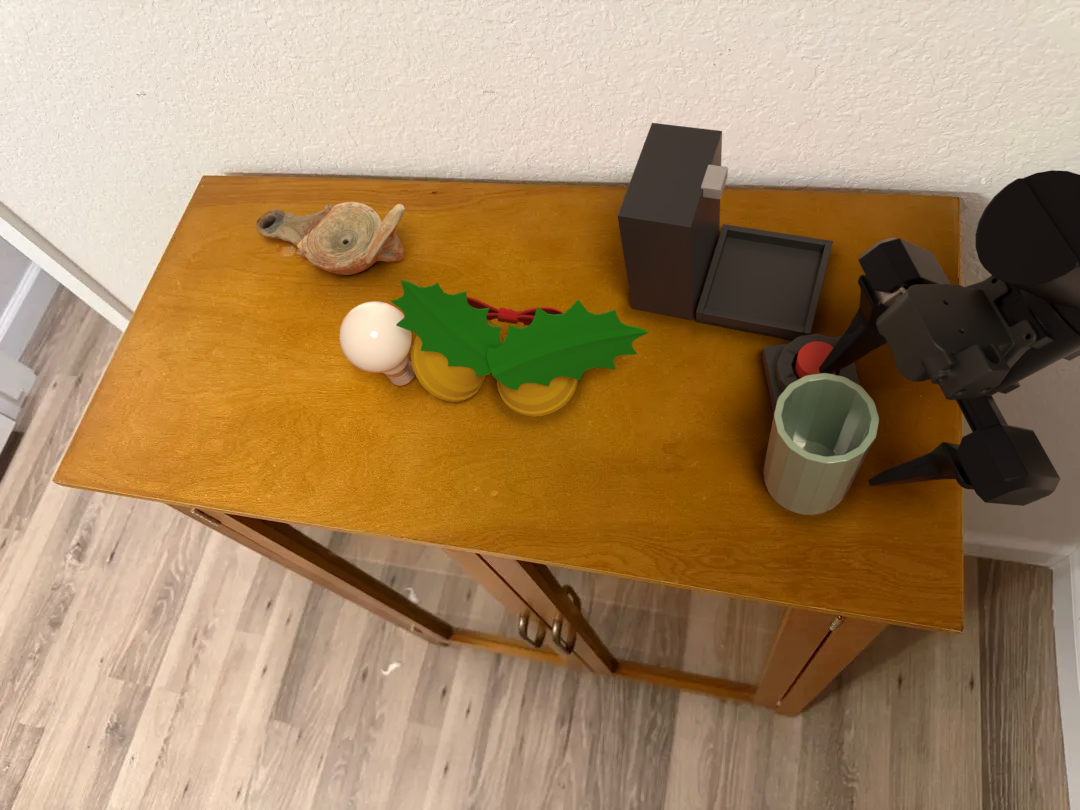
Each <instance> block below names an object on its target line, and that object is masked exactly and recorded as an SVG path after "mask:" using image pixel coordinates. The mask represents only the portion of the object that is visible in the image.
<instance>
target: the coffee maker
mask: <svg viewBox="0 0 1080 810" xmlns="http://www.w3.org/2000/svg"><path fill="white" fill-rule="evenodd" d="M722 141H723V131H722V130H719V129H718V130H717V129H708V128H700V127H691V126H683V125H675V124H666V123H657V122H651V124H650V127H649V130H648V132H647V135H646V138H645V140H644V143H643V146H642V148H641V152H640V154H639V156H638V159H637V162H636V164H635V167H634V170H633V173H632V176H631V178H630V181H629V182H628V183H629V184H628V186H627V189H626V191H625V194H624V197H623V199H622V203H621V204H620V208H619V210H618V213H617V222H618V228H619V235H620V240H621V248H622V254H623V260H624V267H625V272H626V279H627V285H628V292H629V299H630V305H631V309H632V310H637V311H644V312H649V313H653V314H659V315H664V316H669V317H673V318H679V319H683V320H684V319H685V320H688V321H689V320H690V321H694V319H695V322H696V323H701V324H705V325H711V326H715V327H720V328H725V329H731V330H736V331H741V332H746V333H752V334H755V335H756V334H757V335H761V336H766V337H771V338H777V339H782V340H787V341H793V340H794V339H796V338H797V337H798V336H805V335H811V333H812V329H813V324H814V320H815V316H816V313H817V309H818V305H819V300H820V296H821V292H822V288H823V283H824V280H825V276H826V271H827V268H828V265H829V260H830V255H831V253H832V252H831V251H832V246H833V243H834V241H833V240H829V239H823V238H816V237H809V236H803V235H796V234H791V233H785V232H777V231H772V230H771V231H770V230H764V229H758V228H753V227H752V228H750V227H745V226H739V225H732V224H725V223H723V224H722V226H721V229H720V224H721V223H720V221H721V200H722V197H723V192H724V189H725V186H726V183H727V181H728V176H729V175H728V174H729V173H728V172H729V168H728V166H722V154H723V153H722V151H723V149H722V148H723V146H722V145H723V142H722Z"/></svg>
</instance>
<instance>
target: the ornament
mask: <svg viewBox="0 0 1080 810" xmlns="http://www.w3.org/2000/svg"><path fill="white" fill-rule="evenodd" d="M400 282H401V286H402V291H403V294H402V296H399V297H398V298H395V299H391V300H390V302H391V303H392V304H393V305H395V307H396V308H397V309H400V311H401V312H402V313H403V315H404V318H403V319H402V320H401V321H400V322H398V323H397V324H396V326H398V327H401V328H404V329H406V330H409V331H411V332H412V333H414V334H415V335H416V337H415V338H414V342H413V344H412V346H411V353H410V358H411V360H410V361H411V363H412V366H413V370H414V372H415V377H416V378H417V380H418V381H419V383H420V384H421V386H422V387H423V388H424V389H425V390H426V391H427V392H428V393H429V394H431V395H432V396H434V397H435V398H436V399H437V398H438V399H440V400H442V401H446V402H450V403H458V402H459V403H460V402H464V401H465V400H469V399H470V398H472V397H473V396H475V394H476V393H478V392H479V390H480V389H481V387H482V386H483V384H484V382H485V379H486V377H487V376H488V375H491V374H492V377H493V378H494V379H495V380H496V386H497V391H498V393H499V396H500V398H501V400H502V402H503V403H504V405H506V406H507V408H509V410H511V411H513V412H514V413H516V414H518V415H521V416H524V417H525V416H526V417H535V418H536V417H543V416H547V415H551V414H553V413H555V412H557V411H558V410H560V409H562V408H563V407H564V406H565V405H567V404H568V402H570V400H571V399H572V397H573V396H574V394H575V392H576V390H577V387H578V383H579V381H581V380H582V376H583V374H584V373H586V372H587V371H588V370H591V369H596V368H598V369H607V370H616V365H615V359H616V358H617V357H620V356H631V355H633V356H634V355H636V356H637V355H638V353H637V351H636V350H635V348H634V346H633V343H634V341H636V340H638V339H639V338H641V337H642V336H644V335H647V334H649V333H650V331H649V330H646V329H643V328H641V327H639V326H632V325H628V324H626V323H623V322H622V321H621V320H620V318H619V317H618V315H617V310H616V309H613V310H609V311H606V312H603V313H592V312H590V311H588V310H587V308H586V307H585V306H584V304H583V303H582V302H581V301H580V300H579V299H577V300H576V301H575V302H574V303H573V304H572V306H571V307H569V308H568V309H567V310H566V311H562V310H559V309H557V308H554V307H549V306H541V307H539V306H537V307H531V308H527V309H524V310H519V311H518V310H514V309H511V308H505V307H499V308H497V307H494V306H492V305H490V304H488V303H486V302H484V301H481V300H480V299H476V298H475V297H474V298H473V297H472V296H471V297H470V296H467V295H468V294H467V292H468V291H467V290H465V291H462V292H458V293H454V294H451V293H448V292H445V291H444V290H443V288H442V287H441V286H440V284H439V283H438V282H436V283H434V284H432V285H428V286H419V285H417V284H415V283H412V282H410V281H408V280H405V279H400ZM493 320H497V322H500V323H508V324H509V325H508V330H507V333H505V335H504V336H503V334H502V332H501V329H502V326H501V325H500V326H499V325H497V324H496V323H494V321H493ZM519 323H522V324H520V325H517V324H519ZM512 324H514V325H517V326H514V325H512Z"/></svg>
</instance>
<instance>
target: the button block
mask: <svg viewBox="0 0 1080 810" xmlns="http://www.w3.org/2000/svg"><path fill="white" fill-rule="evenodd" d="M841 337H842V335H837V336H831V337H830V336H828V335H824V334H820V333H812V334H811V333H810V335H805V336H798V337H797V338H796V339H794V340H793V341H792V340H790V341H789V342H788V343H782V344H774V345H768V346H763V349H762V357H761V360H762V365H763V370H764V374H765V380H766V384H767V389H768V393H769V398H770V402H771V407H772V412H773V414H774V413H775V409H776V404H777V400H778V398H779V396H780V395H781V394H782V393H783V391H784V390H785V389H786V388H787V386H788V385H790V384H791V383H793V382H795V381H797V380H798V379H800V378H799V377H798V375H797V373H796V369H795V365H796V361H797V356H798V353H799V351H800V349H801V348H802V347H803V346H804V345H806V344H808V343H810V342H816V341H819V342H825V343H827V344H829V345H831V346H832V347H833V348H834V346H835V345H836V344H837V342H838V341H839V339H840V338H841ZM835 375H838V376H843V377H846V378H848V379H849V380H851V381H853V382H854V383H856V384H858V385H860V386H861V384H860V381H859V377H858V374H857V367H856V364H855V362H854V363H852V364H850V365H848V366H847V367H845V368H842V369H840V370H838V371H836V372H835Z"/></svg>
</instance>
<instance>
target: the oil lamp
mask: <svg viewBox="0 0 1080 810" xmlns="http://www.w3.org/2000/svg"><path fill="white" fill-rule="evenodd" d="M405 211H406V208H405V206H404V205H403V204H402V203H397V204H396V205H394V206H393V208H391V209H390V210H389V212H388V213H387V214H386V216H385V217H384V218H383V220H382V219H381V217H380V216H379V213H377V212H376V211H375V209H373V207H371V206H369V205H367V204H365V203H361V202H356V201H347V202H341V203H338V204H334V205H331V204H328V203H327V204H326V205H324V209H321V211H317V212H315V213H311V214H306V215H295V214H294V213H293V212H291V211H290V212H286V211H284V210H282V209H272V210H269V211H267V212H265V213H264V214H263V215H261V216H260V217H259V218H258V219H257V220H256V223H255V227H256V231H257V232H258V234H259V235H260V236H263V237H264V238H268V239H270V238H271V239H278V240H282V241H285V242H289V243H292V245H294V246H295V247H297V248H298V249H297V250H296V254H297V255H298V256H299V257H301V258H303V259H307V261H309V262H310V263H311V264H312V265H313V266H315V267H316V268H319V269H320V270H323V271H326V272H329V273H332V274H335V275H343V276H344V275H345V276H347V275H354V274H359V273H361V272H363V271H366V270H368V269H369V268H371V267H372V266H373V265H374V264H375V263H377V262H388V263H389V262H398V261H401V260H403V259H404V256H405V250H404V247H403V244H402V241H401V240H400V237H399V236H398V234H397V230H396V228H397V226H398V225H399V223H400V221H401V219H402V218H403V216H404V214H405Z"/></svg>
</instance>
